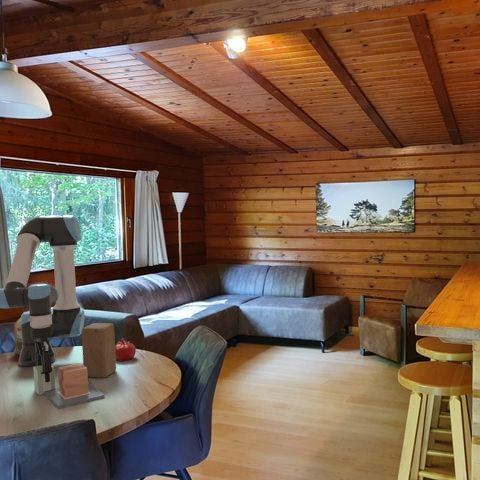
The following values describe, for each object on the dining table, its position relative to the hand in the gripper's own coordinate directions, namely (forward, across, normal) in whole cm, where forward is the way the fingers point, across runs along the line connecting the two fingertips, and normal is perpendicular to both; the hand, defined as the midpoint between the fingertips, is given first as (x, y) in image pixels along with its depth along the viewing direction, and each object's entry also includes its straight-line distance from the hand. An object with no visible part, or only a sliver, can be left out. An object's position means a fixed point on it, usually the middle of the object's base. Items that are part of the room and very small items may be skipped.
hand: (44, 388), depth 190 cm
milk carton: (-1, -60, +9) cm, 61 cm away
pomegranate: (+1, -20, +39) cm, 44 cm away
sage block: (+1, 0, 0) cm, 1 cm away
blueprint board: (+2, +12, +7) cm, 14 cm away
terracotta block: (0, +12, +7) cm, 14 cm away
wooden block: (+1, -6, +23) cm, 24 cm away
